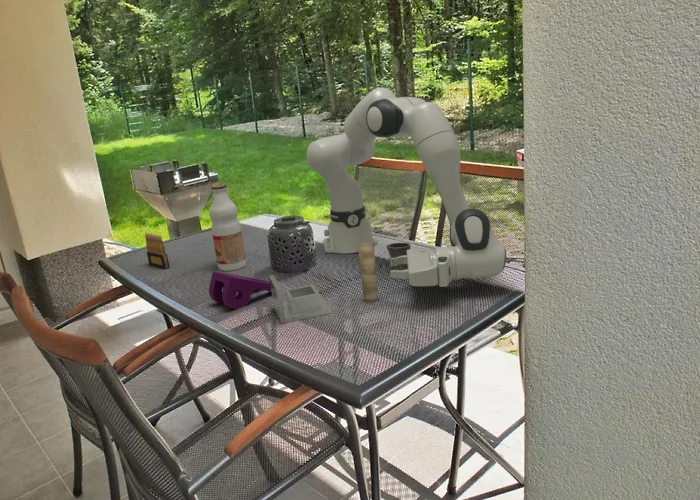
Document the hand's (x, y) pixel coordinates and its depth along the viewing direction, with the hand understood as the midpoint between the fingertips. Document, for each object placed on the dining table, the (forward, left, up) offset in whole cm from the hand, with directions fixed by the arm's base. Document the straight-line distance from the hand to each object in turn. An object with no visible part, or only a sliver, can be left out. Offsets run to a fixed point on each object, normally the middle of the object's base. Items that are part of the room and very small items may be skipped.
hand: (390, 267), depth 158 cm
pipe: (-18, +12, -9) cm, 24 cm away
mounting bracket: (-21, -36, -9) cm, 43 cm away
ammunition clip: (-70, -61, -9) cm, 93 cm away
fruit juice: (-54, -37, -9) cm, 66 cm away
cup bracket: (-4, -23, -8) cm, 25 cm away
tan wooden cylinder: (-2, -5, -8) cm, 10 cm away
